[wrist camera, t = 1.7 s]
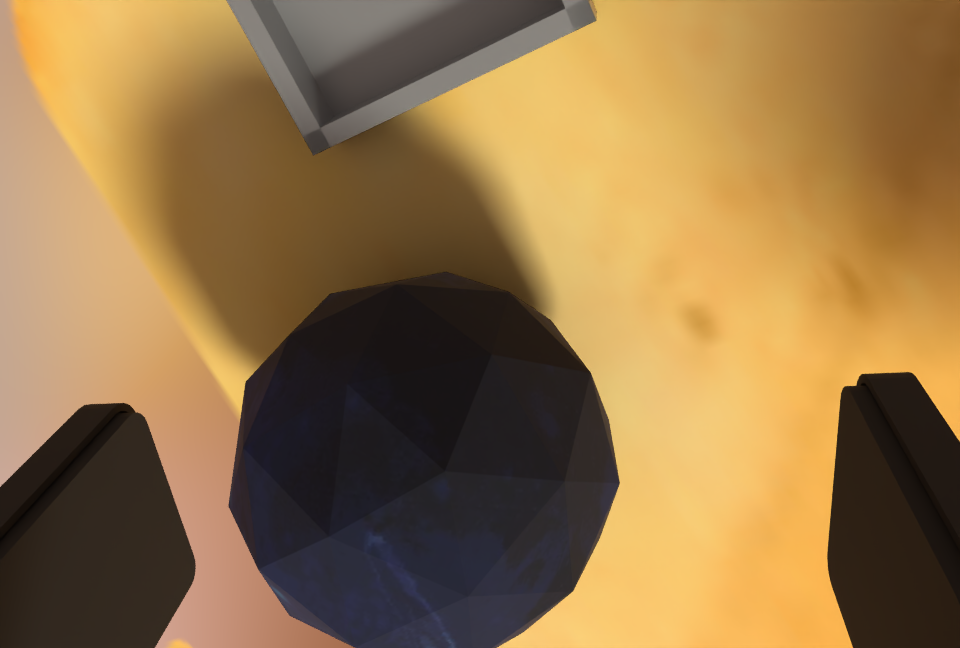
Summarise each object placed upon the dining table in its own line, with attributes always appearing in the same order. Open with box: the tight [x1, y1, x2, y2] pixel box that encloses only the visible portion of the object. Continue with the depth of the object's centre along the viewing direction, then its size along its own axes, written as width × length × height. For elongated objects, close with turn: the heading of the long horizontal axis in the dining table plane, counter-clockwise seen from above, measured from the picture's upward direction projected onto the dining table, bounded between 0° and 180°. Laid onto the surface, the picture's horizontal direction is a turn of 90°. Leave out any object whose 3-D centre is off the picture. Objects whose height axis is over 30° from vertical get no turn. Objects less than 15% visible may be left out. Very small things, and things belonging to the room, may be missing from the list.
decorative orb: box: [229, 272, 620, 648], centre depth 32 cm, size 14×15×15 cm
